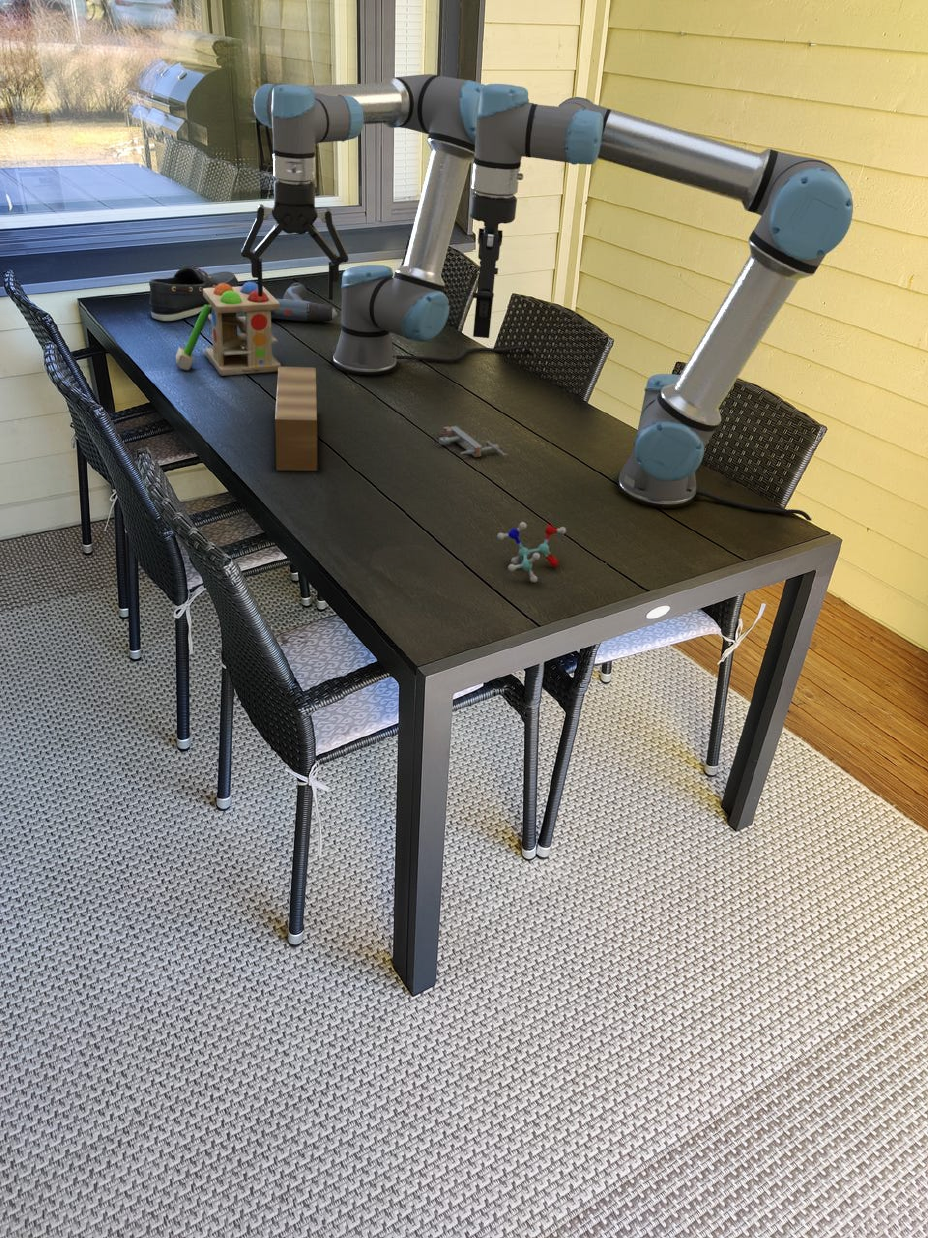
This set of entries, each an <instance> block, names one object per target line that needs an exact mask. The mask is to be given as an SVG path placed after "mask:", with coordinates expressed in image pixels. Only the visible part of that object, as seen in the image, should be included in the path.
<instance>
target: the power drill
mask: <svg viewBox="0 0 928 1238" xmlns="http://www.w3.org/2000/svg"><path fill="white" fill-rule="evenodd" d="M307 295H308V290H307V287H306V285H304V284H303V283H301V282H293V283H292V284H291V285H290V286H289V287H288V288H287V289H286V291H285V292H284V294H283V297H282V298H275V299H276V300H277V301H278V302H279V303H280V310H271V319H274V320H275V319H276V320H283V321H294V322H295V321H297V322H332V321H333V320H334V319H336V318H337V317H338V312H337V311H336V308H334V307H333V306H332V305H331V304H324V303H317V302H313V301H307V300H305V299H306V297H307Z"/></svg>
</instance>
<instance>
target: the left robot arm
mask: <svg viewBox="0 0 928 1238" xmlns="http://www.w3.org/2000/svg"><path fill="white" fill-rule="evenodd" d="M486 85H487V84H484V83H480V82H477V81H474V80H471V79H462V78H456V77H450V76H442V75H439V74H432V73H429V74H428V73H427V74H426V73H425V74H414V75H405V76H395V77H394V76H393V77H392V76H391V77H390V76H389V77H386V78H384V79H383V80H381V82H374V83H349V84H347V83H346V84H343V83H342V84H317V85H302V84H287V83H286V84H283V83H282V84H279V83H265V84H262V85H260V86H259V87H258V89H257V90H256V91H255V95H254V97H253V112H254V114H255V115H254V116H255V117H256V119H257V120H258V121H259V123H261V124H262V125H264V126H266V127H270V128H271V130H272V160H273V161H272V164H273V165H272V167H273V177H274V178H275V180H274V181H273V205H272V207H269V206H264V205H263V204H258V206H257V211H256V218H255V220H254V223H253V225H252V227H251V229H250V231H249V234H248V235H247V237H246V240H245V242H244V243H243V247H242V248H241V252H240V255H241V257H242V258H246V259H248V260H249V261H250V266H251V268H250V269H251V277H252V278H254V279H257V285H258V296H260V297H262V295H263V287H264V285H263V258H260V257H261V256H262V255H263V254H264V252H265V251H266V250H267V249H268V248H269V247H270V245H272V243H273V242H274V241H275V239H277V237H278V236H279V235H280V234H281V233H282V231H283V232H284V233H286V234H289V235H291V234H297V235H304V234H306V233H308V235H309V236H310V237H311V238H312V239H313V240H314V242H315V243H316V244H317V245H318V247H319V248H320V249H321V250H322V252H323V253H324V255H326V257H327V258H328V259H329V260H330V261H328V300H329V301H333V299H334V297H333V296H334V293H333V292H334V282H337V283H338V282H339V280H340V265H341V264H343V263H348V261H349V254H348V252H347V250H346V248H345V246H344V243H343V241H342V239H341V237H340V235H339V232H338V229H336V226H335V224H334V222H333V215H332V210H331V208H328V207H327V208H325V209H322V210H317V208H316V184H315V182H313V181H314V180H315V178H316V176H315V175H316V156H315V155H316V144H321V143H322V144H323V143H333V142H346V141H349V140H354V139H356V138H357V137H359V135H361V133H362V131H363V128H364V125H378V124H383V125H385V126H386V127H388V128H390V129H395V128H396V129H397V128H401V129H407V130H411V131H415V132H418V133H422V134H426V135H427V139H426V142H427V144H428V146H429V148H430V151H431V153H430V156H429V159H428V160H429V161H428V163H427V169H426V173H425V177H424V181H423V185H422V189H421V192H420V193H421V194H420V197H419V200H418V206H417V209H416V214H415V217H414V220H413V221H414V222H413V225H412V230H411V234H410V237H409V242H408V246H407V250H406V253H405V257H404V261H403V264H402V265H401V266H400V267H398V268H396V269H395V271H394V272H393V268H392V267H390V266H388V265H383V264H364V265H355V266H351V267H348V268H346V269H345V270H344V271H343V273H342V277H341V278H342V279H341V286H340V289H341V290H340V291H341V292H340V294H341V295H340V298H341V299H340V301H341V305H340V306H341V307H340V308H341V310H340V311H341V312H340V314H341V316H340V317H341V319H340V321H341V324H340V325H341V326H340V329H341V330H340V336H339V338H338V341H337V344H334V345H333V347H332V352H333V361H332V362H333V363H332V364H333V366H334V367H335V368H337V369H338V370H339V371H342V372H344V373H347V374H352V375H356V376H380V375H381V376H382V375H386V374H389V373H391V372H393V371H395V369H396V368H397V361H398V360H407V361H409V360H412V361H427V362H429V361H430V362H435V363H436V362H438V363H453V362H458V361H460V360H461V359H463V358H464V357H465V356H466V355H467V354H471V353H475V352H479V353H480V352H484V353H485V352H488V353H507V352H513V351H518V350H521V351H523V350H522V349H523V347H522V346H523V345H515V346H510V347H509V346H508V347H503V348H502V347H501V348H498V347H497V348H496V347H495V348H494V347H472V348H471V347H470V348H467V349H465V350H463V351H462V352H461V353H460V354H459V355H458V356H455V357H443V358H442V357H434V356H421V355H399V354H396V352H395V347H394V343H393V341H392V337H391V336H392V335H391V334H395V335H398V336H400V337H403V338H405V339H406V340H410V341H416V342H420V343H425V342H429V341H431V340H434V338H435V337H436V336H438V335H439V334H440V333H441V332H442V330H443V329H444V327H445V325H446V323H447V322H448V319H449V315H450V305H449V304H450V302H449V301H450V300H449V298H448V296H447V295H446V294H445V293H444V292H445V287H446V283H445V282H444V279H443V278H442V272H443V268H444V264H445V260H446V257H447V253H448V249H449V245H450V241H451V238H452V234H453V230H454V226H455V222H456V218H457V215H458V214H457V213H458V210H459V207H460V204H461V203H460V202H461V199H462V195H463V192H464V191H463V190H464V187H465V183H466V179H467V175H468V171H469V167H470V164H471V163H473V162H474V155H475V140H476V124H477V119H476V117H477V115H478V108H479V100H480V93H481V90H482V88H483V87H484V86H486ZM269 216H272V217H273V219H274V220H275V222H276V223H275V224H274V225H273V226H272V228H271V230H269V232H268V233H267V234H266V235H265V236H264V238H263V239H262V240H261V241H260V243H259V244H258V245H256V247H255V249H254V250H251V248H252V246H253V244H254V243H255V240H256V238H257V236H258V234H259V232H260V230H261V227H262V225H263V222H264V220H268V218H269ZM318 218H319V219H320V220H321V222H322V223H323V224H325V226H326V228H327V230H328V233H329V235H330V237H331V239H332V241H333V244H334V245H335V248H336V250H337V252H338V254H339V255H337V253H335V251H334V250H333V249H332V247H331V246H330V245H329V244H328V242H327V241H326V240H325V238H324V237H323V236H322V235H321V233H320V232H319V231H318V229H317V227H316V226H315V225H314V223H315V222H316V220H317V219H318ZM524 351H525V352H527V353H528V354H529V355H534V354H535V353H534V351H533V352H531V351H530V350H524Z"/></svg>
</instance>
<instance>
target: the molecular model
mask: <svg viewBox="0 0 928 1238" xmlns="http://www.w3.org/2000/svg"><path fill="white" fill-rule="evenodd" d="M527 526H528V525H527V523H526V522H524V521H521V522H520V523H519V525H518V527H517V528H511V529H510V530H509V532H505V533H504V532H498V533H497V535H496V537H497V539H498V540H499V541H503V540H504V539H505V538H509V537H510V538H511V539H512V540H514V541H515V542H516V545H517V546H518V548H519V550H518V551H517V552H518V555H516V556H515V557H512V558H511V561H510V562H511V563H510V564H509V565H508V567H507V568H508V571H509V572H511V573H512V572H515V571H516V570H519V569H522V570H523V571H527V573H528V574H529V577H530V578H529V581H530V583H537V582H538V580H539V579H538V577H537V575H535V574H534V572H533V570H532V567H533V562H534V561H539V560H540V558H541V555H544V557H545V559H546V560H547V561H548V564H549V566H550V567H551V568H557V567H558V566H559V560H558V558H556V557H554V556H553V554H552V553H551V551H550V546H549V545H548V543H549V541H550V537H551V536H553V535H554V534H555V533H559V534H560V535H565V534H566V532H567V529H566V527H564V526H561V527H559V528H555V527H554V526H553V525H547V526H546V527H545V529H544V532H545V535H546V536H545V538H544V541H543V543H541V544H539V545H538V547H536V548H531V549H528V548H527V547H524V546H523V544H522V541H521V540H520V535H521V534H520V532H521V531H522V530H525V529H526V528H527ZM530 554H532V557H531V558H530V559H528V557H529V556H530ZM540 554H541V555H540ZM520 559H522V560H521V563H519V560H520Z"/></svg>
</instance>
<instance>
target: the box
mask: <svg viewBox="0 0 928 1238" xmlns="http://www.w3.org/2000/svg"><path fill="white" fill-rule="evenodd" d="M317 401H318V400H317V368H316V367H310V366H309V367H307V366H281V367H280V366H279V367H278V371H277V385H276V401H275V415H274V417H275V418H274V427H275V461H276V467H275V469H276V471H293V472H294V471H295V472H296V471H299V472H300V471H301V472H304V471H305V472H317V471H318V406H317V404H318V402H317Z"/></svg>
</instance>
